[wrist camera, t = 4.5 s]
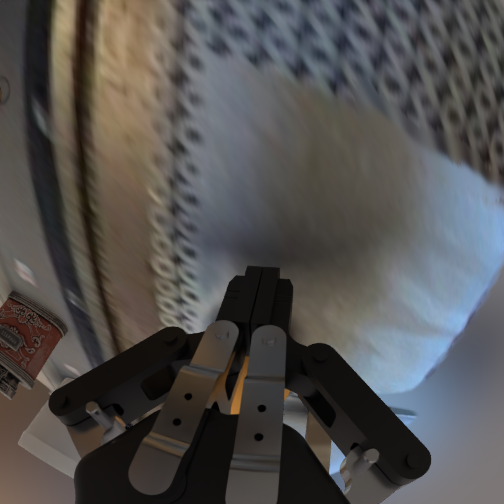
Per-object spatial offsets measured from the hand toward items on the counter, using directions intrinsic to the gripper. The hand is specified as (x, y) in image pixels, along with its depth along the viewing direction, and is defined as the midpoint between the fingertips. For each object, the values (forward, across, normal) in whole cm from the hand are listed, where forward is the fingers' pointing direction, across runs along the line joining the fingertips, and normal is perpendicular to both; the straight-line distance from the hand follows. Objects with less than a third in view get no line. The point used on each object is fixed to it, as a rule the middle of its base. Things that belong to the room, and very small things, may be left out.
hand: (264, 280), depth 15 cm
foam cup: (+2, +26, +26) cm, 37 cm away
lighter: (+2, +23, +9) cm, 25 cm away
